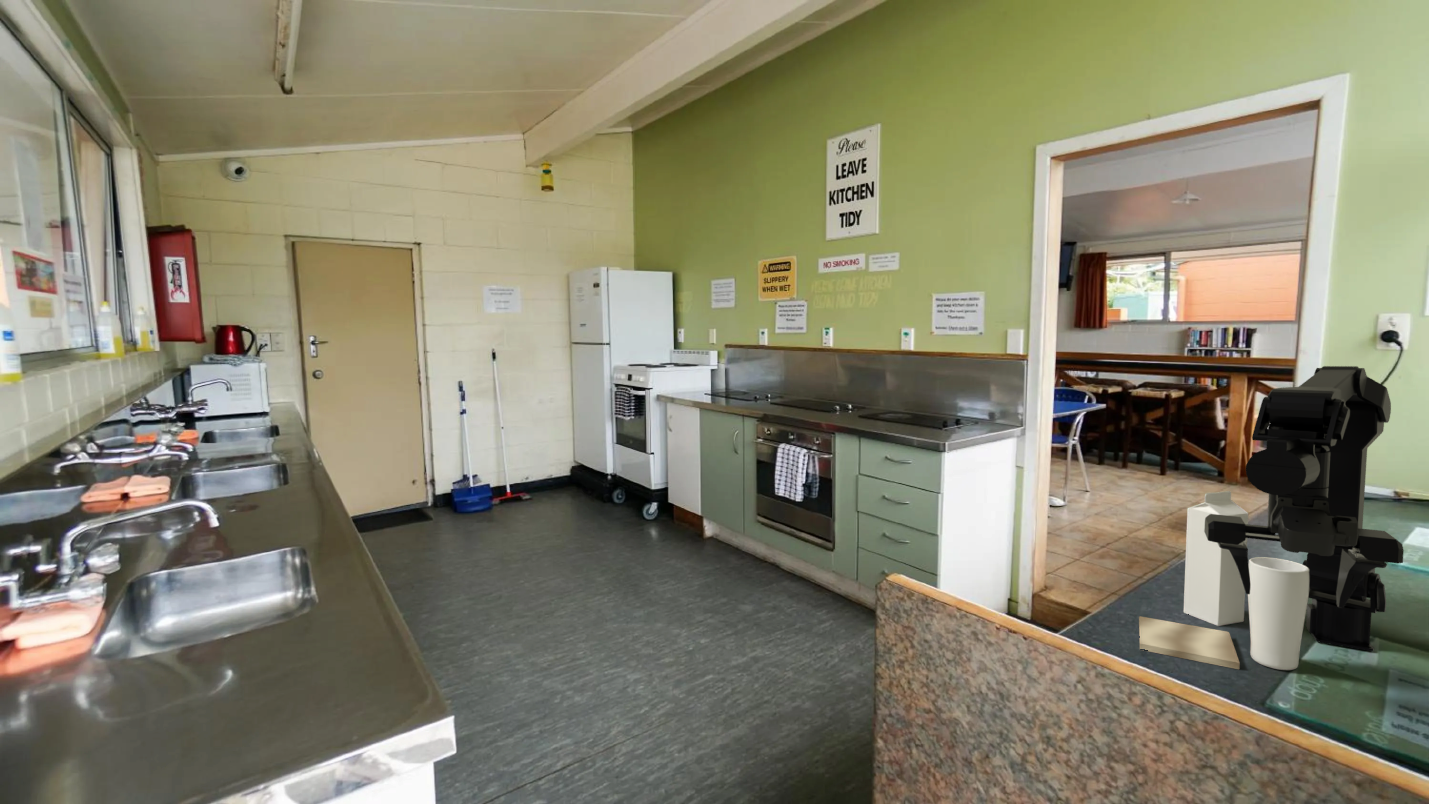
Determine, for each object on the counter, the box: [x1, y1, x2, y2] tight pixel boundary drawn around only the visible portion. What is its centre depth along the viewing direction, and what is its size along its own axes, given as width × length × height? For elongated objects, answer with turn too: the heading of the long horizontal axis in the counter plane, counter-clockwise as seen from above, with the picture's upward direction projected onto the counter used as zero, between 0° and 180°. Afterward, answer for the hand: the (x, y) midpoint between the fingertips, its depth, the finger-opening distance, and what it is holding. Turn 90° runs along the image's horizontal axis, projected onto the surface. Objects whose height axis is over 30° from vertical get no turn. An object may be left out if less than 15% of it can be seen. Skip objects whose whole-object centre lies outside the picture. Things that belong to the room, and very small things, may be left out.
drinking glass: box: [1247, 556, 1310, 671], centre depth 93 cm, size 7×7×15 cm
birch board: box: [1138, 616, 1241, 670], centre depth 100 cm, size 12×12×1 cm
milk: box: [1183, 490, 1249, 627], centre depth 109 cm, size 6×6×22 cm
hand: (1292, 599), depth 84 cm, fingers open, 9 cm apart
